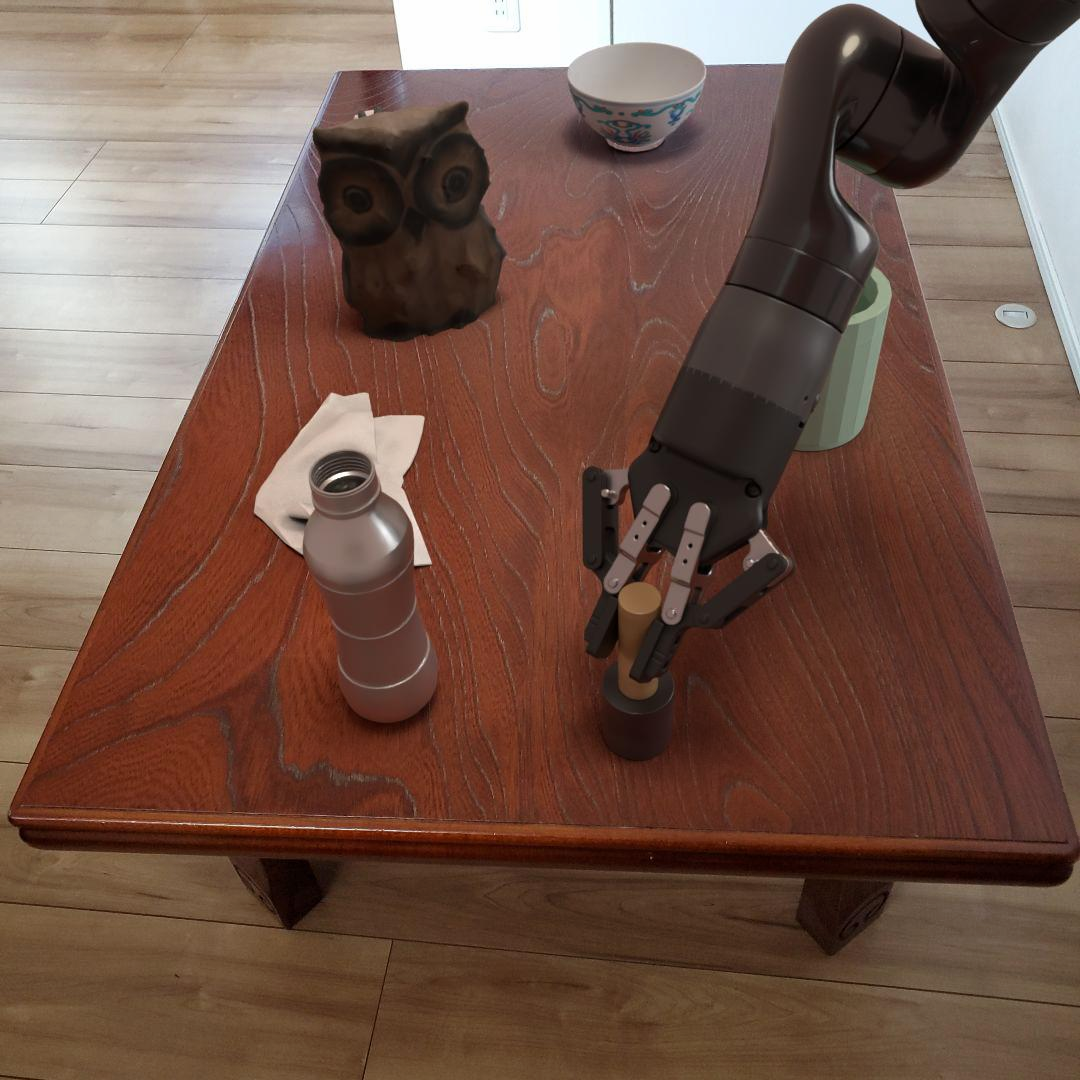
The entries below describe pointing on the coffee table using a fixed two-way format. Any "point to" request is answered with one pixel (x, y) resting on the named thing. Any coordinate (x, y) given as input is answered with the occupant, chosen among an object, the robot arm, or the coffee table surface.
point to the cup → (850, 372)
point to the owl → (410, 219)
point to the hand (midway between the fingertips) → (618, 666)
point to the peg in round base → (636, 683)
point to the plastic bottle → (369, 588)
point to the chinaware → (636, 90)
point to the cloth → (335, 429)
